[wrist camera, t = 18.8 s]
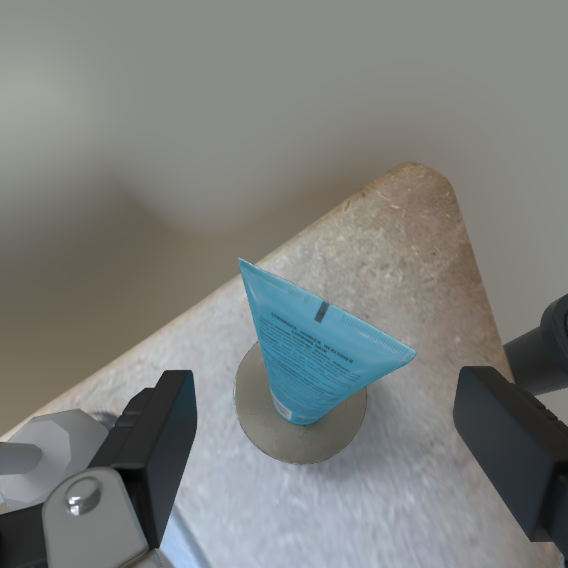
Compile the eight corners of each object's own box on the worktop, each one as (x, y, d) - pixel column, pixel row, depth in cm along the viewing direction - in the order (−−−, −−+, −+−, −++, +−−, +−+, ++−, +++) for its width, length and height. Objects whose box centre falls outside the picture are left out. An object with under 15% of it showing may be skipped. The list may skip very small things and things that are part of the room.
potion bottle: (135, 475, 34) (3, 489, 18) (43, 532, 32) (-196, 602, 16) (106, 395, 38) (-26, 348, 22) (21, 442, 36) (-194, 427, 20)
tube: (351, 387, 30) (437, 292, 13) (329, 442, 28) (397, 417, 11) (273, 350, 32) (260, 221, 15) (247, 400, 30) (197, 320, 13)
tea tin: (346, 349, 40) (359, 325, 33) (356, 462, 35) (374, 463, 28) (245, 351, 40) (236, 327, 33) (241, 464, 35) (229, 465, 28)
